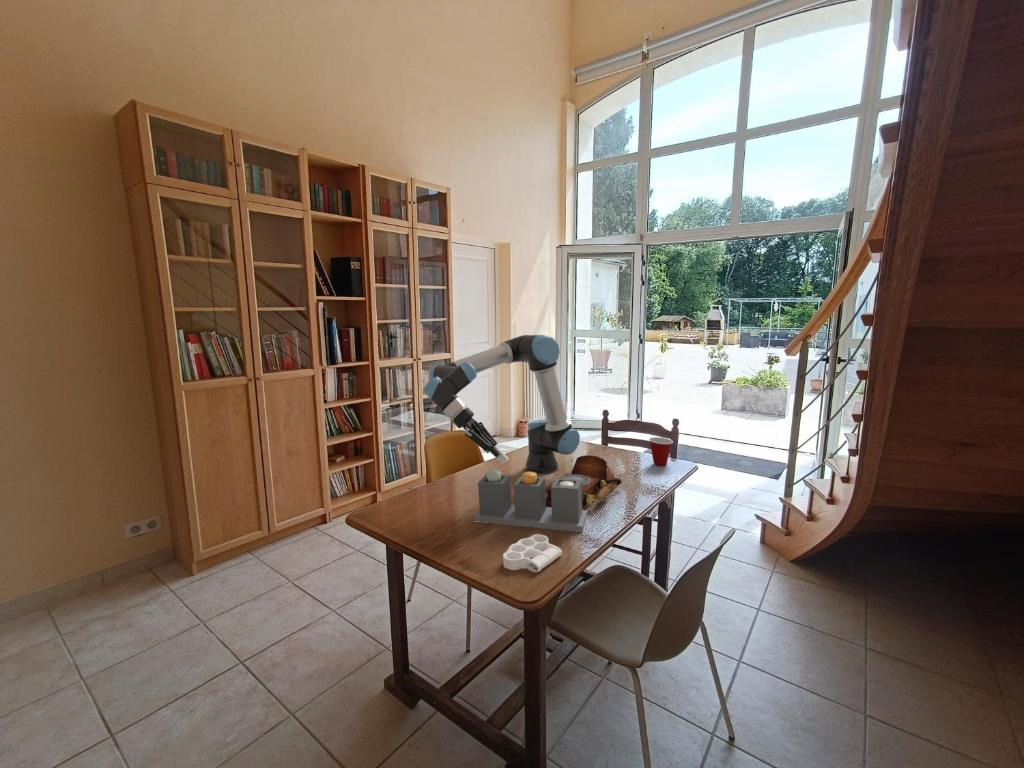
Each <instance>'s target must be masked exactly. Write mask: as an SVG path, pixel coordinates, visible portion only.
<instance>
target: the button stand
mask: <svg viewBox="0 0 1024 768" xmlns="http://www.w3.org/2000/svg"><path fill="white" fill-rule="evenodd" d="M563 481H570V482H573V483H574V487H566V486H559V483H560V482H563ZM552 483H553V485H552V487H551V500H552V508H551V507H546V498H547V496H546V493H545V487H546V477H544V476H537V484H536V485H535V484H523V481H522V475H520V476H519V477H518V479H517V480H516V482H514V484H513V495H514V498H513V499H514V504H512V497H511V496H512V495H511V493H512V491H511V475H509V474H501V481H500V482H488V481H487V473H486V474H484V476H483V477H482V478H481V479H479V481H478V483H477V486H478V487H477V489H478V504H479V505H478V507H479V508H478V509H479V510H478V511H477V513H476V514H475V515H474V516H473V522H474V521H480V522H488V523H495V524H494V525H497V524H505V525H504V526H508V525H515V526H514V527H519V526H523V527H522V528H530V527H533V528H532V529H541V528H542V529H543V530H544V529H545V530H554V531H564V532H565V531H566V532H574V531H575V532H576V533H583V532H584V529H585V526H586V522H587V518H588V510H587V509H585V510H582V480H581V479H564V478H561V477H559V478H558V477H555V479H554V481H553V482H552ZM584 525H585V526H584Z"/></svg>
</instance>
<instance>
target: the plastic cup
mask: <svg viewBox="0 0 1024 768" xmlns="http://www.w3.org/2000/svg"><path fill="white" fill-rule="evenodd" d="M648 440H649V443H650V449H651V456H652V461H653V464H655V465H654V466H657V467H665V466H667V464H668V461H669V455H670V450H671V447H672V444H673V443H674V441H673V440H672V439H669V438H665V437H659V436H658V437H657V436H656V437H655V436H654V437H653V436H652V437H650V438H648Z"/></svg>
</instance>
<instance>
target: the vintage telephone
mask: <svg viewBox="0 0 1024 768" xmlns="http://www.w3.org/2000/svg"><path fill="white" fill-rule="evenodd" d="M560 478H564V479H581V480H582V510H587V509H588V508H589V507H591V505H593V503H599V501H601V500H603V499H605V498H607V496H608V495H609V494H610V493H612V491H613V490H614V489H615V488H617V486H619V485H621V484H622V480H621V479H620V478H619V477H616V476H615V475H614V473H613V472H612V470H611V468H610V467H609V466H608V463H607V461H606V460H605V459H604V458H601V457H600V456H597V455H589V454H588V455H581V456H578V457H576V459H575V463H574V465H573V468H572V471H571V472H570V473H567V474H566V473H565V474H564V475H562V476H561V477H560ZM553 483H554V482H552V483H550V485H548V486H545V494H547V496H546V506H547V507H551V508H552V500H551V487H552V485H553Z"/></svg>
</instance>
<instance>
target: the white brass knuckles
mask: <svg viewBox="0 0 1024 768" xmlns="http://www.w3.org/2000/svg"><path fill="white" fill-rule="evenodd" d="M549 541H550V540H549V537H548V536H547V535H545V534H538V533H537V534H532V535H531V536H530V537H527V538H525V537H524V538H521V539H518V541H517V542H516V543H512V544H511V545H510V546H509V547H508V549H505V551H506V552H504V553H503V554H502V564H503V565H504V566H503V567H504V568H505V569H506V568H507V570H509V569H510V570H509V571H518V570H521V569H526V568H527V570H529V571H530V572H533V573H539V572H541V571H542V570H543V569H544V568H545V567H547V566H548V565H550V564H552V563H553V562H554V561H555V560H556V559H558V558H559V557H561V556H562V555H563V551H562V549H561V548H560V547H558V545H557V546H556V545H554V544H552V543H550V542H549ZM530 558H532V559H530ZM535 568H536V569H537V570H534V569H535Z"/></svg>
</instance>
